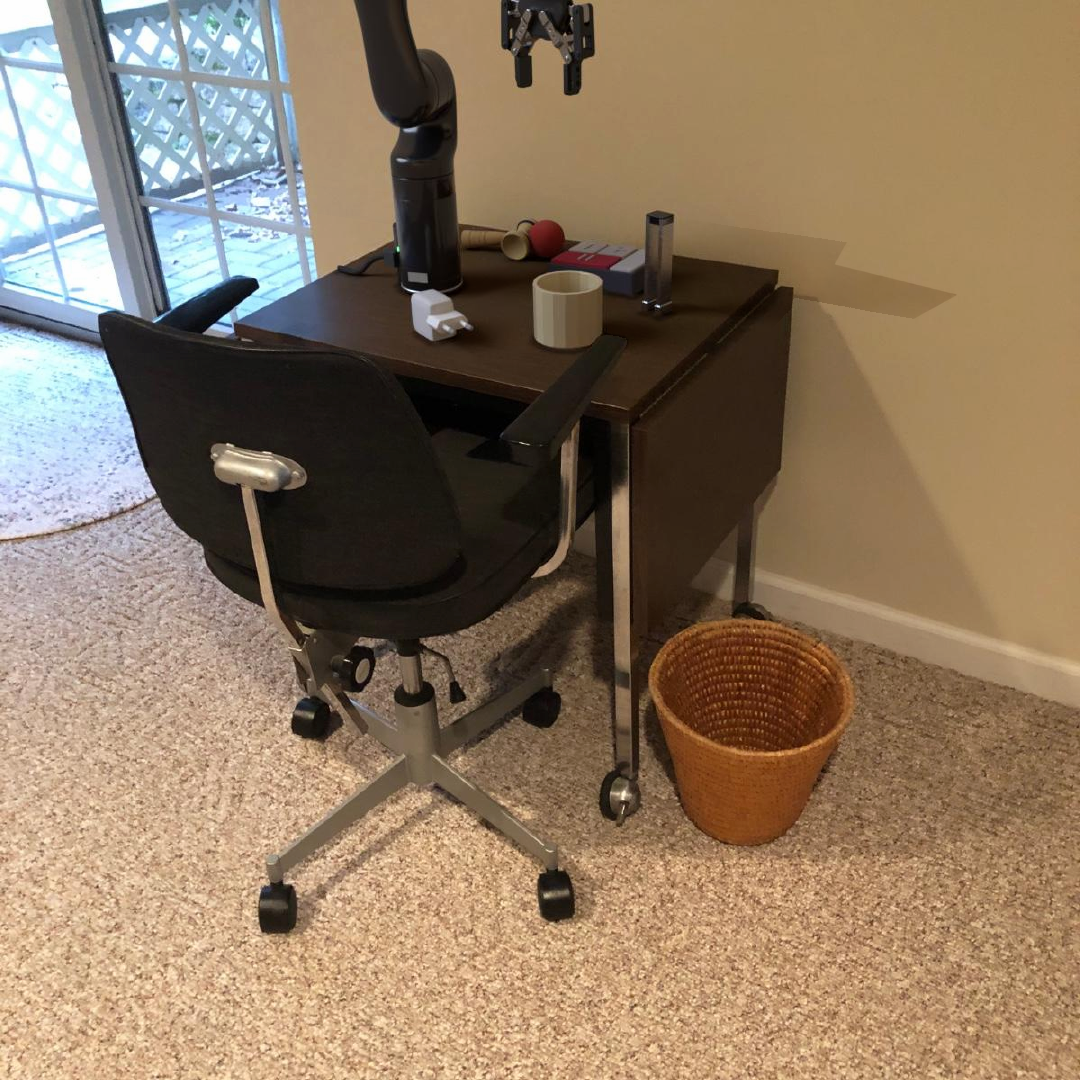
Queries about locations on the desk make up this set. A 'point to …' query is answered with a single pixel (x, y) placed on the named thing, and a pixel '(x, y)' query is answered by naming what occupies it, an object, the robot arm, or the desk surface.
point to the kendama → (521, 239)
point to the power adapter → (436, 315)
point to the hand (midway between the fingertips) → (547, 90)
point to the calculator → (605, 265)
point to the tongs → (658, 262)
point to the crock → (567, 308)
